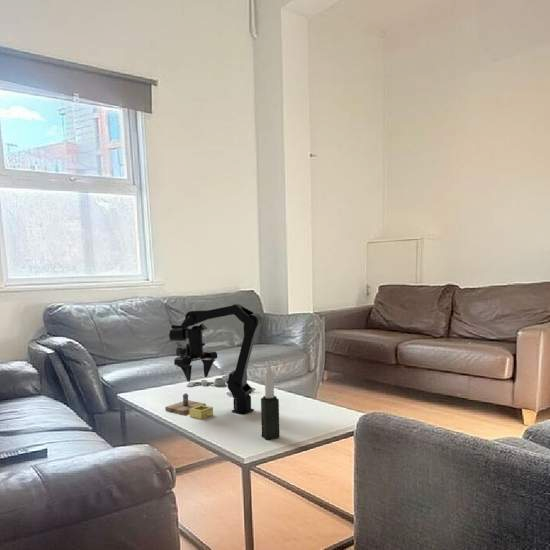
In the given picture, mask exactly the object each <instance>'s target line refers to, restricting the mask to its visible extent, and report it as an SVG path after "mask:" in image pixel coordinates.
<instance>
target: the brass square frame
mask: <svg viewBox="0 0 550 550" xmlns="http://www.w3.org/2000/svg"><path fill="white" fill-rule="evenodd" d="M188 415H189V417H190V418H193V417H195V418H194V419H198V418H199V419H198V420H203V418H204V419H206V418H208V416H209V417H212V416H213V415H214V407H213V406H208V405H206V406H204V405H199V406H196V407H193V408H190V409H189V414H188ZM211 415H212V416H211ZM205 417H206V418H205Z"/></svg>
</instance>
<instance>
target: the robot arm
mask: <svg viewBox="0 0 550 550" xmlns="http://www.w3.org/2000/svg"><path fill="white" fill-rule="evenodd" d="M231 315H234V316H235V317H236V318H237V319H238V320H239V321H240V322H241V323H243V338H242V343H241V348H240V350H239V355H238V358H237V364H236V365H235V366H236V367H235V369H234V370H233V371H231V372H229V373H228V375H229V379H228V382H227V383H226V384H227V389H228V390H229V392H230V393H231V395H232V399H233V409H232V410H231V412H232V413H235V412H236V414H240V415H246V414H248V413H250V412H254V411H255V408H252V395H250V394H252V391H253V388H252V386H250V384H249V383H248V366H249V362H250V359H251V355H252V354H251V353H252V352H253V351H252V350H253V347H254V344H255V338H256V337H257V334H258V333H259V331H260V330H261V328H262V325H263V323H264V322H263V321H264V320H263V319H264V318H263V317H262V315H260V314H259V313H257V312H256V313H255V312H253V311H252V310H250V309H248V308H246V307H245V306H243V305H241V304H240V303H236V304H235V303H234V304H232V305H227V306H222V307H217V308H213V309H194V310H188V311H187V312H186V314H185V318H184V320H183V321H182V323H181V324H171V328H170V330H169V333H168V334H169V335H168V337H169V340H170V341H171V342H186V341H188V343H186V345H185V347H184V348H183V347H182V346H181V347H180V346H179V347H177V348H176V349H175V350H176V351H175V353H176V356H177V357H175V358H174V360H173V363H174V366H177V367H179V368H180V369H181V370H182V372H183V374H184V377H185V379H186V381H187V382H188V383H189V382H191V378H192V377H191V376H192V367H193V366H192V362H195V361H200V360H201V362H202V364H203V376H204V378H207V377H208V376H209V373H210V370H211V368H212V366H213V364H214V362H216V359H218V353H217V352H216V351H212V350H207V351H206V350H205V351H204V347H205V346H206V343H205V342H203V331H206V330H207V329H208V327H207V326H205V325H204V322H206V321H209V320H211V319H216V318H222V317H227V316H231ZM198 324H200V325H198ZM187 339H188V340H187Z"/></svg>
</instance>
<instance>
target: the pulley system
mask: <svg viewBox="0 0 550 550" xmlns="http://www.w3.org/2000/svg"><path fill="white" fill-rule="evenodd" d="M228 379H229V374H225V375H222V376H221V377H217V378H215V379H214V380H213V381H208V379H201V381H190V382H188V383H187V384H186V387H187V388H193V386H194V387H198V386H201V387H208V386H210V385H211V386H210V387H214V386H215V388H222V386H223V387H226V384H228V383H227V382H228ZM225 382H226V383H225Z"/></svg>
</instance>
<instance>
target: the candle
mask: <svg viewBox="0 0 550 550" xmlns="http://www.w3.org/2000/svg"><path fill="white" fill-rule="evenodd" d="M274 376H275V375H274V371H273V370H272V367H271V363H270V362H267V367H266V370H265V372H264V392H265V394H264V396H263V397H261V398H260V406H261V407H260V413H261V414H260V415H261V437H262V438H263V439H265V440H266V441H271V440H277V439H280V432H281V431H280V402H279V401H280V400H279V398H278V397H277V396H276V395H275V386H274V385H275V384H274V382H275V381H274Z"/></svg>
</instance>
